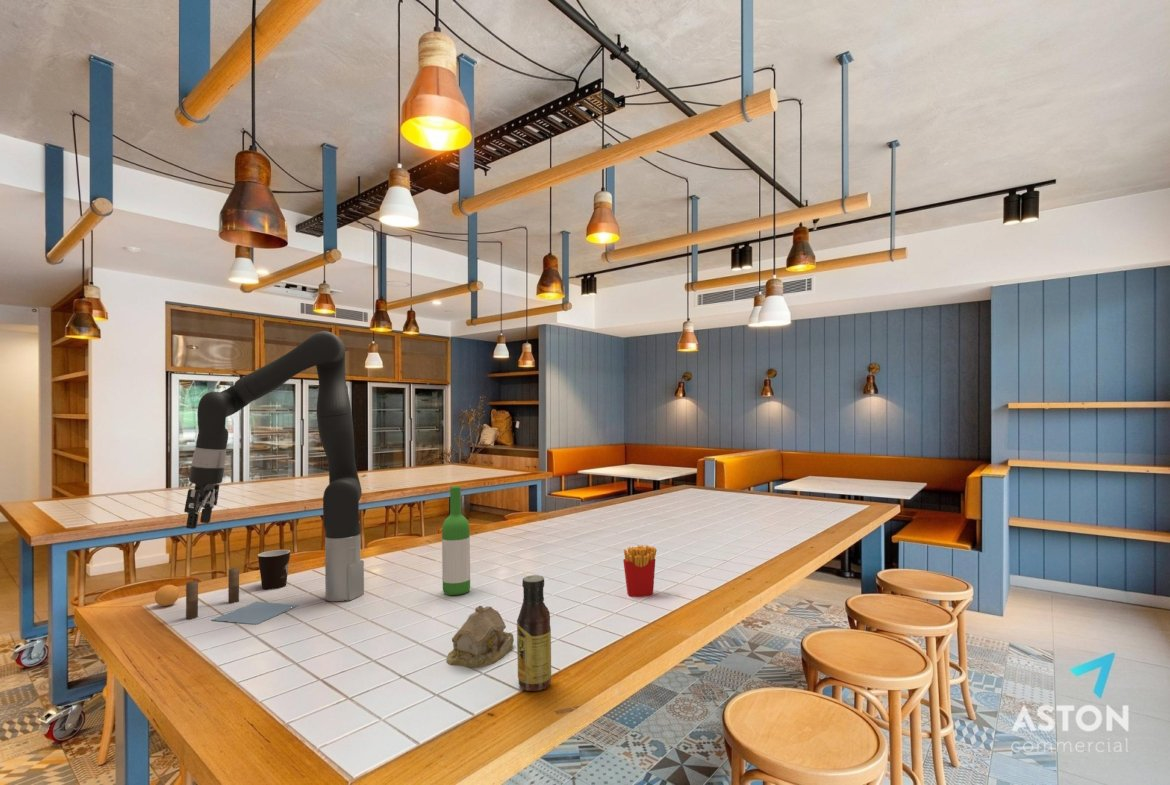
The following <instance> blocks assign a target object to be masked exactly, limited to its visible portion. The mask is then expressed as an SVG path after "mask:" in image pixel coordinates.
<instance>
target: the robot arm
mask: <svg viewBox="0 0 1170 785" xmlns="http://www.w3.org/2000/svg"><path fill="white" fill-rule="evenodd" d="M313 367H316V371H317V372H316V373H317V378H318V379H317V380H318V391H317V392H318V393H317V400H316V420H317V431H318V434H319V439H320V443H321V445H322V448H323V452H324V453H325V456H326V460H327V465H328V476H329V477H328V482H329V484H328V485H327V486H326V487H325V489H324V492H323V496H322V516H323V519H322V520H323V528H324V533H325V534H324V536H325V538H324V539H325V540H324V541H325V542H324V544H325V547H324V548H325V549H324V550H325V551H324V552H325V553H324V554H325V555H324V557H325V558H324V559H325V560H324V563H325V564H324V565H325V568H324V569H325V572H324V573H325V575H324V576H325V579H324V580H325V581H324V582H325V583H324V584H325V585H324V586H325V587H324V588H325V600H326V601H328V602H344V600H346V601H349V600H350V601H352V600H355V599H356V598H359V597H360V596H362V595H364V594H365V561H364V560H363V559H362V558H361V554H362V553H361V549H362V548H361V546H362V544H361V531H362V530H361V523H360V508H359V507H360V506H359V503H360V500H361V498H362V494H363V493H362V491H363V490H362V486H361V481H360V479H359V478H360V477H359V474H358V469H357V465H356V458H355V456H356V455H355V433H354V432H355V430H354V421H353V413H352V408H351V406H352V405H351V401H350V394H349V391H348V386H347V380H346V346H345V343H344V342H343V340H342V339H341V338H340V336H338V335H336V334H334V333H333V332H330V331H326V330H321V331H318V332H315V333H314V334H312V335H311V336H309V337H307V339H305V340H304V341H302V342H301V343H300V344H298V346H296V347H294V348H293V349H291V350H290V351H288V352H287V353H286V354H283V355H282V356H279V358H277V359H275V360H273V361H272V362H271V361H270V362H269V363H268V364H265V365H263V366H262V367H259V368H258V369H256V370H254V371H251V372H250V373H248V374H246V375H244V376H242V377H240V378H238V379H237V380H236V381H235V382H234V384H233V385H231V386H229V387H228V388H226V389H225V390H224V389H223V390H222V391H209V392H207V393H205V394H204V395H202V397H200V400H199V402H198V406H197V429H198V432H197V433H198V434H197V437H196V443H195V448H194V451H193V454H192V460H191V465H190V470H189V478H188V481H189V483H192V484H194V485H195V486H194V488H189V489H188V490H187V495H186V500H185V505H184V509H183V512H184V513H186V514H187V520H186V525H185V528H186V529H189V530H190V529H192V530H193V529H196V528H197V527H198V523H199V522H198V521H199V520H200V523H201V524H208V523H210V522H211V518H212V511H213V509H214V508H215V506H217V505H218V497H219V492H220V484H222V482H223V477H224V471H225V465H226V460H227V447H228V440H229V431H228V429H227V428H226V422H227V421H226V420H227V417H230V416H232V415H234V414H236V413H238V412H239V411H241V410H243V408H245V407H247V406H248V405H249V404H251V403H252V402H254V401H256V400H258V399H261V398H262V397H264V396H266V395H268V394H269V393H271V392H273V391H275V390H277V389H279V387H281V386H283V385H284V384H285V383H286V382H288V381H289V380H290V379H292V378H294V376H296V375H298V374H299V373H302V372H304V371H306V370H307V369H310V368H313ZM200 512H201V514H200ZM199 516H200V519H199Z"/></svg>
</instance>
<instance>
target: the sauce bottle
mask: <svg viewBox="0 0 1170 785" xmlns="http://www.w3.org/2000/svg"><path fill="white" fill-rule="evenodd" d="M544 577H545V576H543V575H539V574H538V575H537V574H532V575H526V576H524V577H523V578H522V583H521V584H522V588H523V589H522V590H523V592H522V593H523V599H522V604H521V608H520V611H519V615H518V617H517V621H516V636H517V637H516V640H517V641H516V646H517V648H516V649H517V651H516V652H517V679H518V680H517V681H518V686H519V687H520V688H521V689H522V690H523V691H526V692H537V691H539V692H540V691H544V690H546V689H547V688H548V687H549V686H550V685H551V681H552V634H551V633H552V632H551V631H552V629H551V614H550V611H549V609H548V606H546V603H545V602H544V601H545V598H544V587H545V578H544Z"/></svg>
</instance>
